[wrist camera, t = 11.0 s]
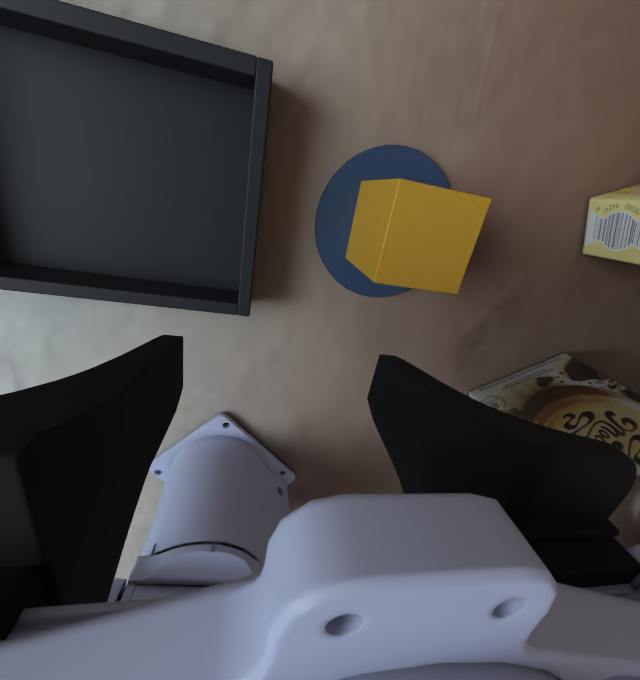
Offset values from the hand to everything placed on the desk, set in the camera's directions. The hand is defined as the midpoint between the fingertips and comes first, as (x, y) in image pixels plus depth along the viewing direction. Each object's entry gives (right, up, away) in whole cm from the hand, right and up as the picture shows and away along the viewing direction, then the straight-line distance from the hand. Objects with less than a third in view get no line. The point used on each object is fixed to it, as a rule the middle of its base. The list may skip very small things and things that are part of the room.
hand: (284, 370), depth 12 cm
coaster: (+5, +8, +9) cm, 13 cm away
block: (+6, +8, +8) cm, 13 cm away
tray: (-10, +10, +5) cm, 15 cm away
